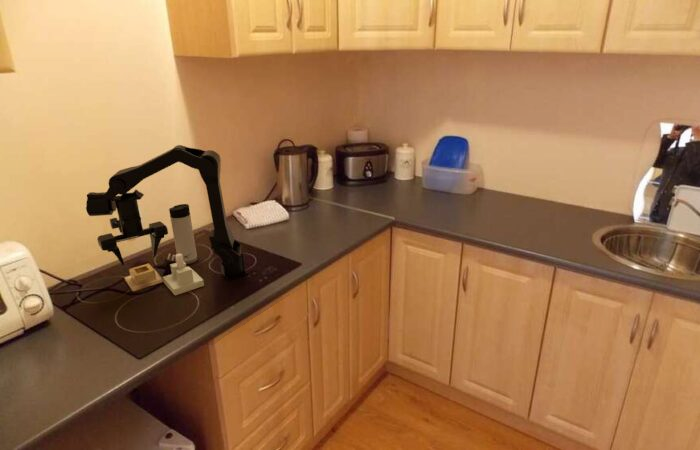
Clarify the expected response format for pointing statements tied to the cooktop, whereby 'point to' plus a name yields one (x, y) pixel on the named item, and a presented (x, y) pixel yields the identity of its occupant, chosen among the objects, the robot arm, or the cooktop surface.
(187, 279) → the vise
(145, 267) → the collar
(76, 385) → the cooktop surface
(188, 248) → the travel mug
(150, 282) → the pad
